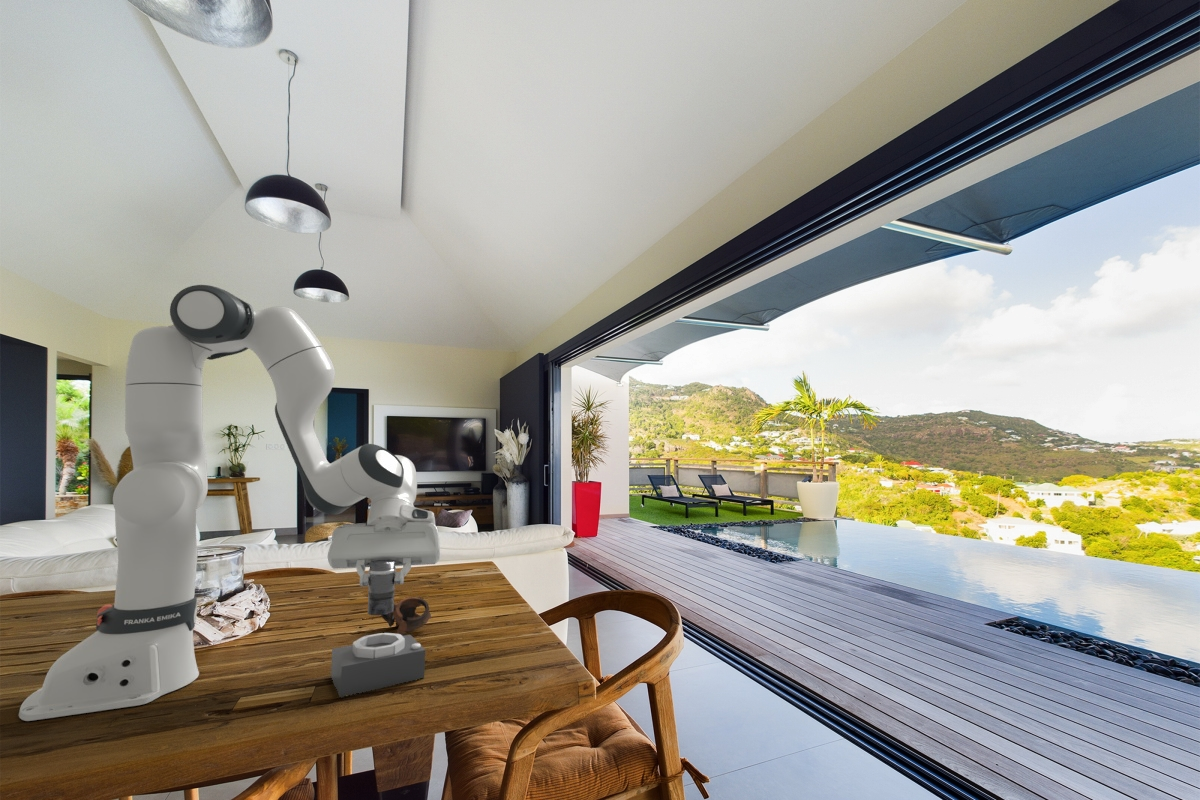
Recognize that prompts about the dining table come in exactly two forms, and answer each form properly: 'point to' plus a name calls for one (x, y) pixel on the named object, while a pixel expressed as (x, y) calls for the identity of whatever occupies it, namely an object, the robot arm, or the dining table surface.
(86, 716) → the dining table surface
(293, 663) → the dining table surface
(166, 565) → the robot arm
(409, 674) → the camera body
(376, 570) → the lens
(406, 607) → the pottery mug
